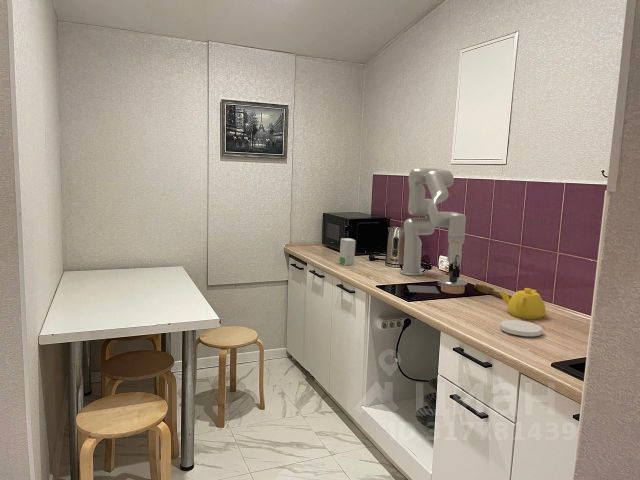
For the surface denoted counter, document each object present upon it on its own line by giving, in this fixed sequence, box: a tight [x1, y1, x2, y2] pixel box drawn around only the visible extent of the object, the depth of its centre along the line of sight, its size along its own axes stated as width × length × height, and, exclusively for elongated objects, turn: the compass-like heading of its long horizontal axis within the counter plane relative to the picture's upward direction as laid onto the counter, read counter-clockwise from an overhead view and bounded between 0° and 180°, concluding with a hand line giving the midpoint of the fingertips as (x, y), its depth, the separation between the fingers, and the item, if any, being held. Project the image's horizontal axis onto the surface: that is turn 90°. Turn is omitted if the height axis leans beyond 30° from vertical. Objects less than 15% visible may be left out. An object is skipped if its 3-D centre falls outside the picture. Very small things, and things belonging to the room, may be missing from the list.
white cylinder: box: [338, 237, 357, 266], centre depth 294 cm, size 8×7×16 cm
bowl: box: [440, 283, 466, 295], centre depth 229 cm, size 10×10×4 cm
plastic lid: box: [499, 319, 543, 337], centre depth 172 cm, size 14×14×2 cm
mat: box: [406, 284, 440, 294], centre depth 232 cm, size 14×14×1 cm
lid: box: [438, 271, 468, 286], centre depth 229 cm, size 13×13×5 cm
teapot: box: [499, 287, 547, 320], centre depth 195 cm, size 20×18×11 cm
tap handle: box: [473, 283, 513, 300], centre depth 225 cm, size 3×3×30 cm
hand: (453, 275), depth 228 cm, fingers open, 9 cm apart
